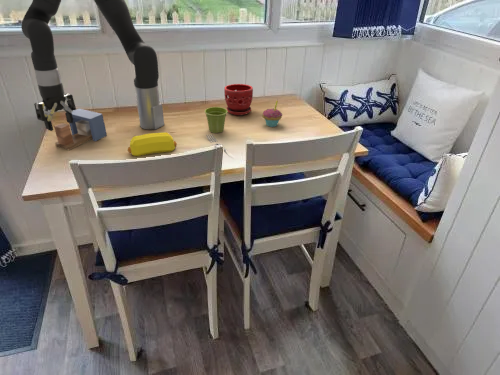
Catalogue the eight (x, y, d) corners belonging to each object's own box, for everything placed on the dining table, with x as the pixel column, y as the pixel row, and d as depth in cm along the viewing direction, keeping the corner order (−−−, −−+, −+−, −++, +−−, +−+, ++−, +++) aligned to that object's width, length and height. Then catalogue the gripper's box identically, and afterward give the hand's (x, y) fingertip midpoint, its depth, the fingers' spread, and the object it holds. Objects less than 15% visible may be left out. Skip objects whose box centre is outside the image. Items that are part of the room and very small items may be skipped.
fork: (234, 164, 129) (234, 159, 128) (205, 139, 146) (205, 134, 145) (242, 162, 130) (242, 157, 130) (212, 137, 148) (212, 133, 147)
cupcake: (284, 123, 161) (286, 97, 155) (277, 130, 155) (279, 102, 148) (266, 119, 164) (267, 93, 158) (258, 126, 158) (259, 99, 151)
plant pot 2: (257, 110, 174) (258, 86, 167) (242, 119, 164) (242, 93, 158) (234, 105, 180) (234, 81, 173) (219, 113, 170) (218, 87, 164)
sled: (100, 135, 146) (95, 115, 141) (69, 149, 134) (63, 129, 130) (87, 131, 148) (82, 112, 144) (55, 145, 137) (50, 125, 132)
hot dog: (127, 150, 136) (129, 159, 129) (124, 134, 132) (126, 142, 126) (175, 144, 141) (179, 152, 135) (173, 128, 138) (177, 136, 132)
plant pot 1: (231, 128, 155) (230, 108, 151) (222, 136, 148) (222, 116, 143) (211, 124, 158) (210, 105, 153) (201, 133, 150) (200, 113, 146)
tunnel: (108, 134, 146) (104, 112, 142) (95, 141, 141) (90, 118, 136) (86, 128, 151) (81, 107, 146) (72, 134, 145) (66, 113, 140)
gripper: (38, 88, 117) (51, 135, 126) (74, 78, 128) (83, 122, 137) (23, 85, 120) (36, 130, 128) (59, 75, 131) (69, 118, 140)
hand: (60, 126), depth 133 cm, fingers open, 8 cm apart
